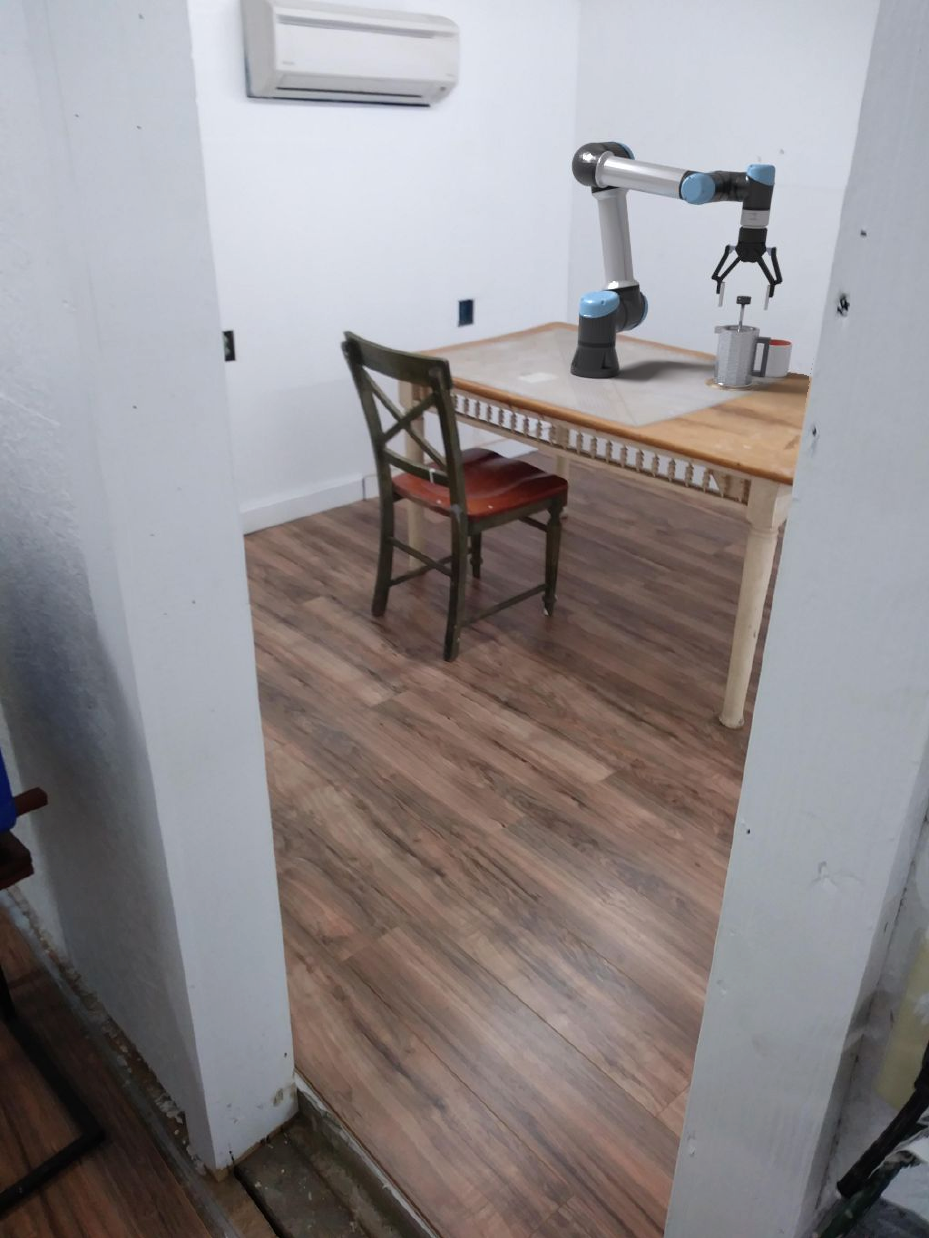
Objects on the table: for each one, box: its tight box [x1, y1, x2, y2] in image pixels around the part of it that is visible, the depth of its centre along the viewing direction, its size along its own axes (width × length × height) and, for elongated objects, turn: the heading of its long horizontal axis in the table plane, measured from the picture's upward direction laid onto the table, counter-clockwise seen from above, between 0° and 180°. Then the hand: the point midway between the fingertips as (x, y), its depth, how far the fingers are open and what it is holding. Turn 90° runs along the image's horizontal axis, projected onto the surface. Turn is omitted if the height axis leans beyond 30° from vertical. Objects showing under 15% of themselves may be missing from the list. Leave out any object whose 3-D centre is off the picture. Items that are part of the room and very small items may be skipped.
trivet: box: [704, 377, 761, 392], centre depth 284 cm, size 16×16×1 cm
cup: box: [754, 338, 793, 378], centre depth 294 cm, size 10×10×10 cm
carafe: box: [712, 324, 772, 389], centre depth 280 cm, size 16×11×16 cm
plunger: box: [730, 295, 752, 332], centre depth 275 cm, size 8×8×11 cm
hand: (742, 308), depth 274 cm, fingers open, 12 cm apart
